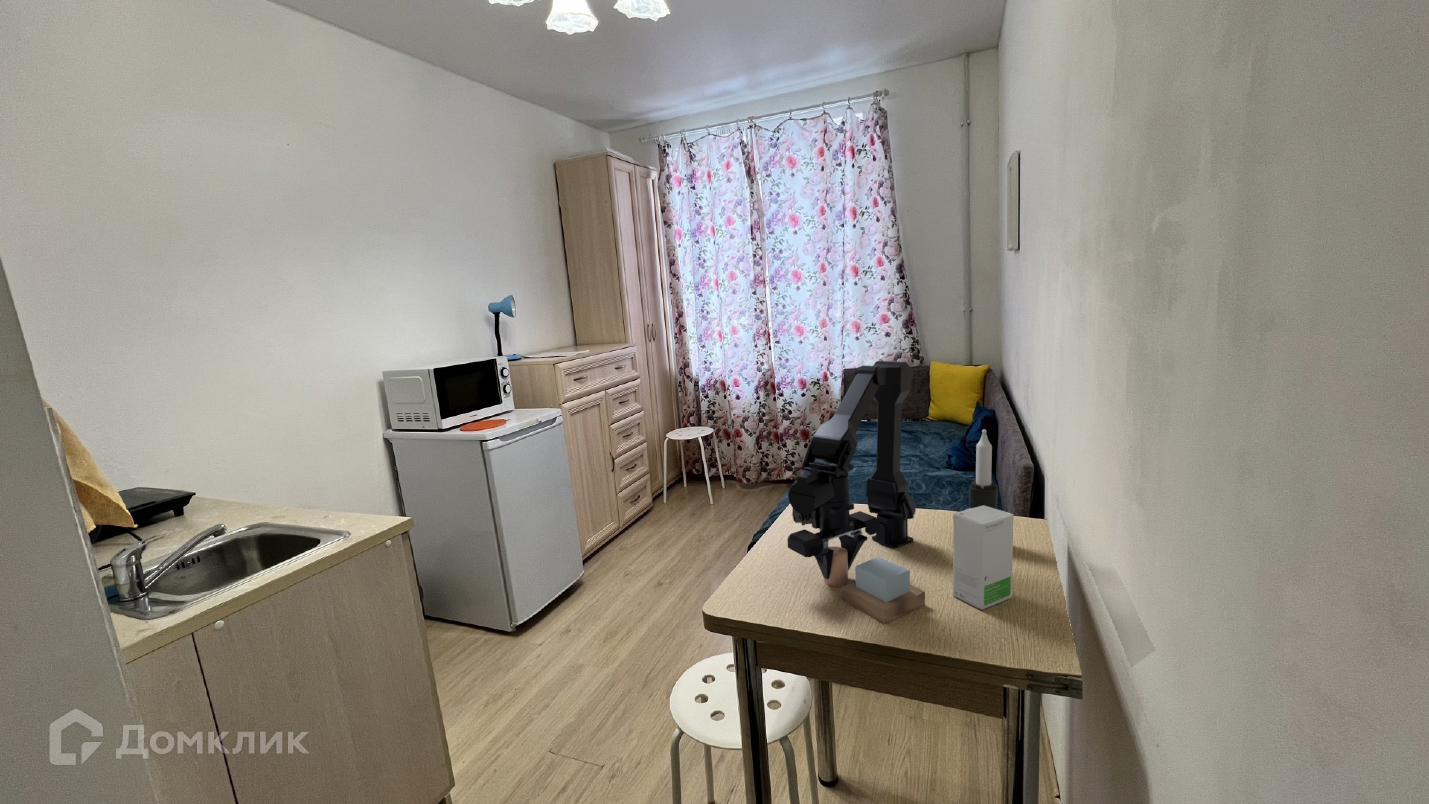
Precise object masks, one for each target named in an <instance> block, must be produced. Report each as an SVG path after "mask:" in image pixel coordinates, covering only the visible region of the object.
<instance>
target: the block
mask: <svg viewBox="0 0 1429 804" xmlns="http://www.w3.org/2000/svg"><path fill="white" fill-rule="evenodd" d="M854 570H855V571H854V573H855V581H856V587H857V588H859V589H861V590H863V591H865V592H867V593H869V594H871V595H873V596H875V597H877V598H879V599H880V600H882V601H884V602H886V603H887V602H889V601H891V600H893V599H895V598H897V597H899V596H901V595H903V594H905V593H907V592H909V591H910V585H911V580H910V579H911V574H910V573H911V571H910V569H908V568H906V567H904V566H901V565H899V564H897V563H894V562H893V561H889V559H885V558H883V557H880V556H877V557H874V558H872V559H869V560H867V561H865V562H862V563H860V564H857V565H855V569H854Z"/></svg>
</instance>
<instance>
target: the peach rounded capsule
mask: <svg viewBox="0 0 1429 804" xmlns="http://www.w3.org/2000/svg"><path fill="white" fill-rule="evenodd" d="M828 548H830V549H832V550H834V552H833V559H832V565H831V572H830V576H829V579H825V578H824V577H823V582H824V583H825V584H826V585H828V586H831V587H843V586H846V585H848V584H849V571H848V551H847V550H846V549H845V548H842V547H841V546H835V545H834V546H828Z"/></svg>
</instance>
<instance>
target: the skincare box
mask: <svg viewBox="0 0 1429 804" xmlns="http://www.w3.org/2000/svg"><path fill="white" fill-rule="evenodd" d="M952 516H953V517H952V518H953V542H952V543H953V549H952V550H953V553H952V555H953V556H952V557H953V558H952V562H953V563H952V596H953V597H955V598H957V599H958V600H961V601H962V602H965V603H966V604H969V605H970V606H972V607H974V608H977V609H979V610H985V609H987V608H990V607H993V606H995V605H997V604H999V603H1002V602H1004V601H1007V600H1010V599H1011V598H1012V597H1013V557H1014V556H1013V552H1014V551H1013V550H1014V545H1013V544H1014V516H1015V515H1014V514H1013V513H1012V512H1007V511H1005V510H1001V509H998V508H997V509H994V508H991V507H988V506H984V505H983V506H979V507H975V508H969V507H968V508H966V509H965V510H961V511H958V512H954V513H953V514H952Z"/></svg>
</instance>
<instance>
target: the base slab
mask: <svg viewBox="0 0 1429 804" xmlns="http://www.w3.org/2000/svg"><path fill="white" fill-rule="evenodd" d="M841 587H842V588H841V591H842V592H841V593H842V595H841V596H842V599H841V600H842V601H844V602H846V603H848V604H849V605H850V606H852V607H853V608H856V609H858V610H860V611H861V612H863V613H865V614H867V615H868V616H869V617H871V618H873V619H875V620H877V621H878V622H880V623H881V624H884V625H885V624H887V623H889V622H892V621H895V620H896V619H898V618H900V617H902V616H904V615H907V614H909V613H910V612H911V613H912V612H913V611H915V610H917V609H919V608H922V607H923V606H926V591H925V590H922V589H921V588H919V587H916V586H915V585H912V584H910V591H909V592H907V593H905V594H903V595H901V596H899V597H897V598H895V599H893V600H891V601H889V602H887V603H886V602H884V601H882V600H880V599H879V598H877V597H875V596H873V595H871V594H869V593H867V592H865V591H863V590H861V589H859V588H857V587H856V580H855V581H853V582H851V583H847V584H846V585H844V586H841Z"/></svg>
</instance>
